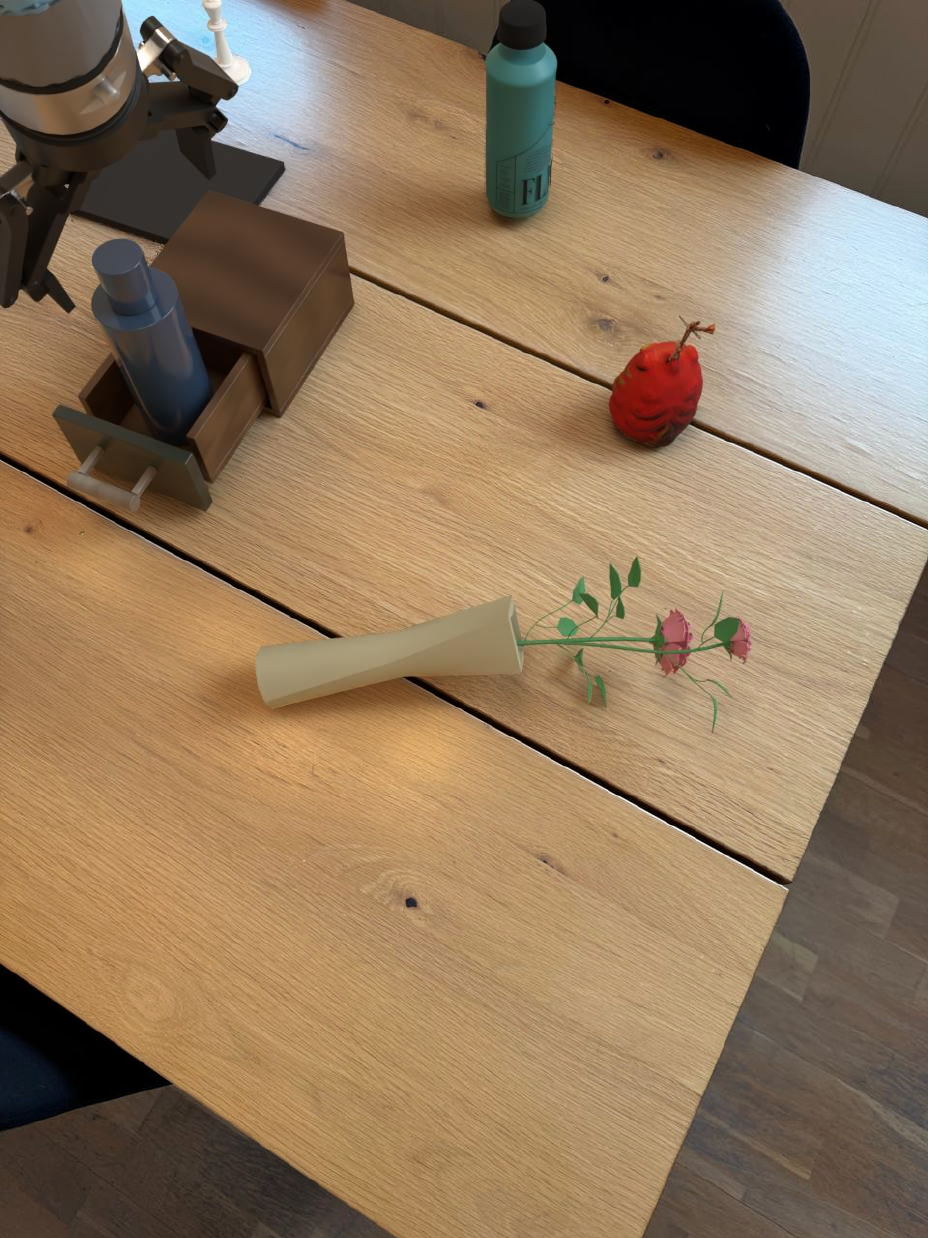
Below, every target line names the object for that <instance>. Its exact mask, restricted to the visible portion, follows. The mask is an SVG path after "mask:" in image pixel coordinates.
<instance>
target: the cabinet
mask: <svg viewBox="0 0 928 1238" xmlns="http://www.w3.org/2000/svg"><path fill="white" fill-rule="evenodd" d="M148 266H149V267H151V268H155V269H158V270H161V271H163V272H165V273H166V274H167V275H169V276H170V277H171V278H172V279H173V281H174V282H175V284H176V286H177V289H178V292H179V295H180V298H181V300H182V303H183V306H184V309H185V311H186V314H187V317H188V320H189V323H190V325H191V328H192V331H193V333H195V334H197V335H200V336H203V337H206V338H209V339H212V340H215V341H218V342H221V343H224V344H227V345H229V346H232V347H235V348H238V349H241V350H244V351H247V352H250V353H253V354H256V355H257V358H258V362H259V365H260V369H261V372H262V375H263V379H264V382H265V386H266V389H267V393H268V396H269V400H268V402H267V403H266V405H265V406H264V408H263V409H262V411H261V412H264V413H266V414H269V415H273V416H275V417H279V418H283V416H284V414H285V413H286V411H287V410H288V408H289V406H290V405H291V403H292V402H293V400H294V399H295V397H296V395H297V394H298V393H299V391H300V390H301V388H302V386H303V385H304V383H305V382H306V380H307V379H308V377H309V375H310V374H311V372H312V371H313V369H314V368H315V366H316V364H318V361H319V360H320V358H321V357H322V355H323V354H324V353H325V351H326V350H327V348H328V346H329V345H330V343H331V342H332V340H333V338H334V337H335V335H336V334H337V333H338V331H339V329H340V327H341V326H342V324H343V323H344V321H345V320H346V318H347V317H348V315H349V313H350V312H351V311H352V309H353V307H354V306H355V298H354V291H353V285H352V280H351V272H350V266H349V259H348V253H347V246H346V239H345V232H344V231H342V230H338V229H335V228H332V227H329V226H325V225H322V224H319V223H316V222H313V221H309V220H306V219H303V218H299V217H296V216H293V215H290V214H287V213H283V212H280V211H278V210H274V209H271V208H267V207H264V206H262V205H261V206H260V205H259V206H258V205H255V204H252V203H248V202H245V201H242V200H239V199H235V198H232V197H229V196H226V195H223V194H219V193H216V192H213V191H210V190H208V192H207V193H206V194H205V195H204V197H203V198H202V199H201V201H200V202H199V203H198V204H197V206H196V207H195V208H194V209H193V211H192V212H191V213H190V215H189V216H188V217H187V218H186V220H185V221H184V222H183V224H182V225H181V226H180V227H179V229H178V230H177V231H176V232H175V234H174V235H173V236H172V238H171V239H170V240H169V241H168V243H167V244H166V245H165V244H164V246H163V248H162V249H161V250H160V252H159V253H158V254H157V255H156V257H155V258H154V259H153V260H152V262H150V264H149V265H148Z"/></svg>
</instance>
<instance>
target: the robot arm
mask: <svg viewBox="0 0 928 1238" xmlns="http://www.w3.org/2000/svg"><path fill="white" fill-rule="evenodd" d="M139 34H140V36H141V38H142V41H140V43H139V44H138V50H136V48H135V45H134V41H133V37H132V33H131V30H130V27H129V23H128V19H127V15H126V12H125V8H124V4H123V0H0V120H1V121H2V124H3V125H4V126H5V128H6V130H7V132H8V133H9V135H10V137H11V138H12V140H13V141H14V143H15V150H14V159H15V164H14V165H13V166H12V167H11V168H9V169H8V170H7V171H5V173H3V174H1V175H0V307H2V308H3V309H9V308H11V307H12V306H14V304H15V303H16V302H17V300H18V298H19V295H20V291H21V290H22V291H23V292H24V293H25V294H26V295H27V296H28V297H29V298H30V299H31V300H32V301H33V302H35V303H40V301H42V300H43V299H44V298H45V297H46V296H47V295H48V296H49V297H50V298H51V299H52V300H53V301H54V302H55V303H56V304H57V305H58V306H59V307H60V308H61V309H62V310H63V311H64V312H65V313H66V314H67V315H69V314H70V313H71V312H72V311H73V310H74V309H76V307H77V305H76V304H75V302H74V301H73V300H72V298H71V296H70V295H69V294H68V293H67V291H66V290H65V288H64V287H63V285H62V283H61V282H60V281H59V279H58V278H57V277H56V276H55V275H54V273H52V271H51V270H50V269H49V268H48V267H49V264H50V262H51V260H52V257H53V255H54V252H55V249H56V247H57V245H58V242H59V240H60V238H61V235H62V233H63V231H64V228H65V225H66V223H67V221H68V218H69V216H70V212H73V211H75V210H78V209H80V208H81V207H82V204H83V202H84V200H85V197H86V195H87V193H88V190H89V188H90V185H91V183H92V181H93V180H95V179H97V178H98V177H99V175H100V173H101V171H102V168H105V167H108V166H110V165H112V164H114V163H116V162H117V161H119V160H120V159H122V158H123V157H125V156H126V155H127V154H128V153H129V152H130V151H131V150H132V149H133V148H134V146H135V145H136V144H137V142H138V141H142V140H149V139H155V138H156V136H157V134H158V133H159V131H163V130H171V129H175V132H176V136H177V140H178V144H179V148H180V152H181V153H182V154H183V155H184V156H185V157H186V158H187V159H188V160H189V161H190V162H191V163H192V164H193V165H194V166H195V167H196V168H197V169H198V170H199V171H200V172H201V173H202V174H203V175H204V176H205V177H206V178H207V179H208V180H210V179H211V178H212V177H213V176H215V175H216V174H217V173H216V167H215V161H214V155H213V149H212V143H211V140H213V138H214V137H215V136H216V135H217V134H219V133H221V132H222V131H223V130H224V129H225V128H226V126H227V124H228V122H229V119H228V117H227V115H225V114H224V113H223V112H222V111H221V110H220V109H219V108H218V107H217V106H218V104H219V102H220V101H221V100H222V101H223V100H224V101H230V100H232V99H233V98H234V97H235V96H237V94H238V92H239V89H240V88H239V87H240V86H238V85H237V84H236V83H235V82H234V81H233V80H232V79H231V78H230V77H229V75H228V74H227V73H226V72H225V71H224V70H223V69H222V68H221V67H220V66H219V65H218V64H217V63H216V62H215V61H214V60H213V59H214V58H212V57H211V56H210V55H209V54H206V53H204V52H203V51H200V50H199V49H196V48H194V47H193V46H190V45H188V44H186V43H185V42H182V41H181V40H178V38H176V37H175V35H173V33H172V32H170V31H169V29H168V28H167V27H166V26H164V24H163V23H161V21H159V19H157V18H156V17H155V16H154V15H150V16H148V17H147V18H146V19H144V20H143V21H142V22H141V25H140V27H139ZM153 75H155V76H156V77H161V76H164V77H165V78H166V79H167V80H168V81H152V82H150V80H149V78H150V77H152V76H153ZM176 79H178V80H176ZM66 185H67V186H66Z"/></svg>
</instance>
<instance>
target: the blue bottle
mask: <svg viewBox="0 0 928 1238" xmlns="http://www.w3.org/2000/svg"><path fill="white" fill-rule="evenodd" d="M91 265H92V267H93V269H94V272H95V274H96V276H97V278H98V281H99V283H98V285H97V287H96V288H95V289H94V291H93V293H92V296H91V301H90V309H91V313H92V314H93V317H94V319H95V322H96V323H97V326H98V327H99V329H100V332H101V333H102V336H103V338H104V341H105V342H106V345H107V346H108V349H109V351H110V352H111V353H112V355H113V357H114V359H115V361H116V363H117V365H118V367H119V370H120V372H121V374H122V376H123V378H124V380H125V382H126V384H127V386H128V389H129V391H130V393H131V395H132V397H133V399H134V401H135V403H136V405H137V408H138V410H139V412H140V414H141V416H142V418H143V420H144V422H145V424H146V427H147V429H148V431H149V432H150V434H151V435H152V436H153V437H154V438H155V439H156V440H158V441H161V442H164V443H167V444H169V445H172V446H188V445H190V444H189V442H188V440H187V437H186V435H187V434H188V432H189V431H190V429H191V428H192V426H193V425H194V424H195V422H196V421H197V419H198V418H199V416H200V415H201V413H202V412H203V411H204V409H205V408H206V406H207V405H208V403H209V402H210V400H211V399H212V397H213V396H214V395H215V392H214V389H213V386H212V384H211V381H210V378H209V375H208V373H207V370H206V367H205V364H204V361H203V359H202V356H201V353H200V350H199V348H198V345H197V342H196V339H195V336H194V334H193V331H192V328H191V325H190V323H189V320H188V317H187V314H186V311H185V309H184V306H183V303H182V300H181V298H180V295H179V292H178V289H177V286H176V284H175V282H174V281H173V279H172V278H171V277H170V276H169V275H167V274H166V273H165V272H163V271H161V270H158V269H155V268H151V267H149V266H150V265H149V264H148V262H147V258H146V256H145V254H144V250H143V248H142V247H141V245H140V244H139V243H138V242H137V241H135V240H133V239H130V238H124V237H120V238H119V237H118V238H112V239H108V240H107V241H105V242H103V243H101V244H99V245H98V246H97V247H96V248H95V249H94V251H93V252H92V255H91Z"/></svg>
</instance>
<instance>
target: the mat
mask: <svg viewBox="0 0 928 1238" xmlns="http://www.w3.org/2000/svg"><path fill="white" fill-rule="evenodd" d="M211 143H212V149H213V155H214V161H215V167H216V173H217V174H216V175H215V176H213V177H212V178H211V179H210V180H208V179H207V178H206V177H205V176H204V175H203V174H202V173H201V172H200V171H199V170H198V169H197V168H196V167H195V166H194V165H193V164H192V163H191V162H190V161H189V160H188V159H187V158H186V157H185V156H184V155H183V154H182V153H181V152H180V148H179V144H178V140H177V136H176V132H175V129H171V130H163V131H159V133H158V134H157V136H156V138H155V139H149V140H142V141H138V142H137V144H136V145H135V146H134V148H133V149H132V150H131V151H130V152H129V153H128V154H127V155H126V156H125V157H123V158H122V159H120V160H119V161H117V162H116V163H114V164H112V165H110V166H108V167H105V168H102V171H101V173H100V175H99V177H98V178H97V179H95V180H93V181H92V183H91V185H90V188H89V190H88V193H87V195H86V197H85V200H84V202H83V204H82V207H81V208H80V209H78V210H75V211H73V212H70V213H69V215H74V216H77V217H80V218H83V219H85V220H89V221H92V222H95V223H98V224H101V225H104V226H106V227H107V226H108V227H111V228H113V229H116V230H119V231H122V232H125V233H129V234H132V235H135V236H138V237H141V238H144V239H147V240H150V241H153V242H156V243H159V244H162V245H164V246H165V245H166V244H167V243H168V241H169V240H170V239H171V238H172V236H173V235H174V234H175V232H176V231H177V230H178V229H179V227H180V226H181V225H182V224H183V222H184V221H185V220H186V218H187V217H188V216H189V215H190V213H191V212H192V211H193V209H194V208H195V207H196V206H197V204H198V203H199V202H200V201H201V199H202V198H203V197H204V195H205V194H206V193H207V192H208V190H210V191H213V192H216V193H219V194H223V195H226V196H229V197H232V198H235V199H239V200H242V201H245V202H248V203H252V204H255V205H258V206H260V205H261V204H262V203H263V201H264V200H265V198H266V197H267V196H268V195H269V193H270V192H271V190H272V189H273V187H274V186H275V185H276V184H277V182H278V181H279V179H280V178H281V177H282V175H283V174H284V173H285V171H286V166H285V161H282V160H279V159H276V158H273V157H269V156H266V155H262V154H260V153H255V152H252V151H249V150H246V149H242V148H239V147H235V146H232V145H229V144H226V143H222V142H220V141H216V140H213V139H211Z"/></svg>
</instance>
